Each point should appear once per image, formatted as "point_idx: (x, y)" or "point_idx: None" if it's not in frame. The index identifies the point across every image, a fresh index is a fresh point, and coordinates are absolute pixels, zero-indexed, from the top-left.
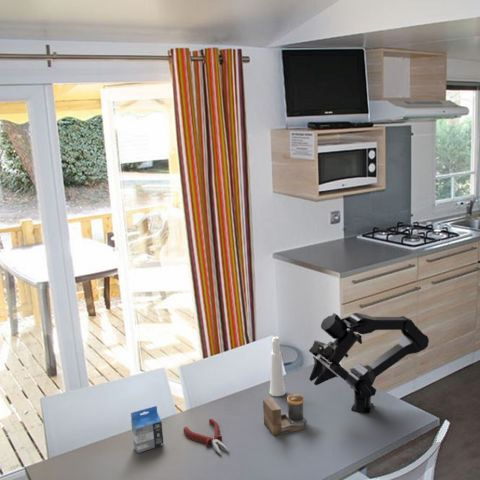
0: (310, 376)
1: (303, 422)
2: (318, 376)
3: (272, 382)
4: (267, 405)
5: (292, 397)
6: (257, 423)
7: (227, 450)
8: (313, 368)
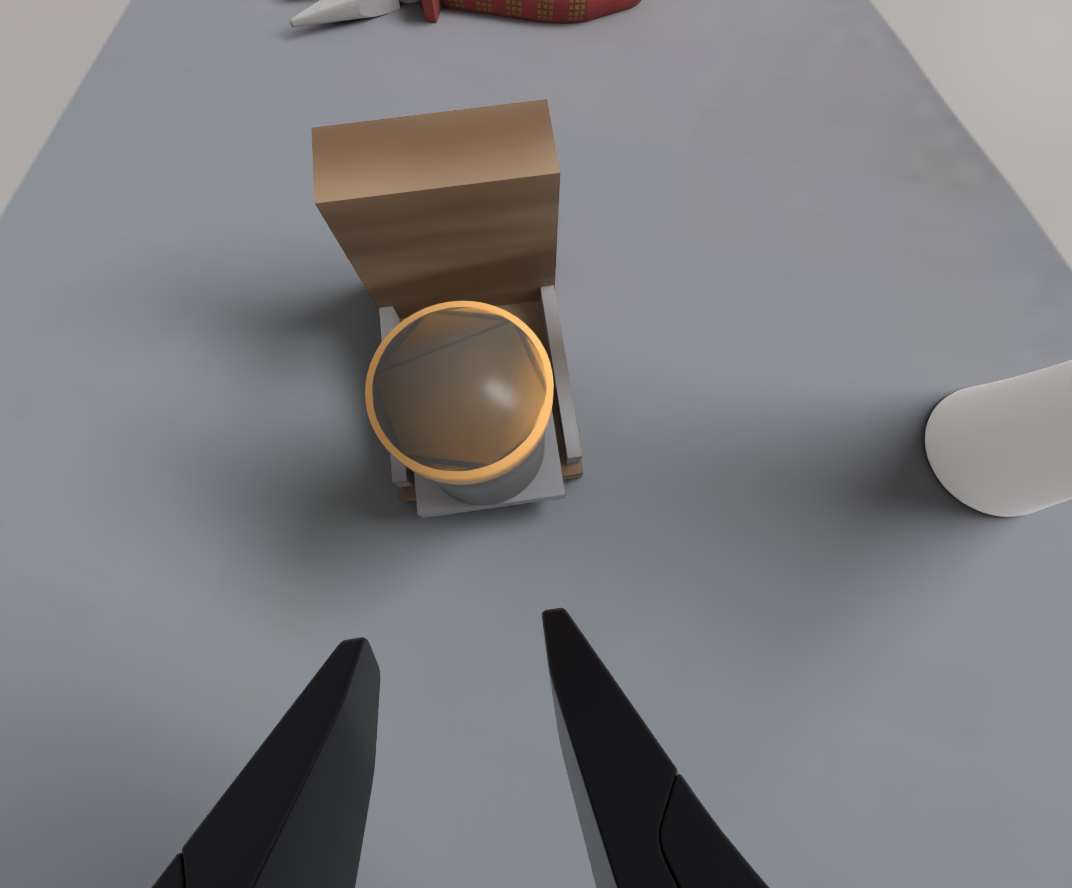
0: (574, 643)
1: (392, 480)
2: (273, 798)
3: (1056, 365)
4: (433, 118)
5: (483, 360)
6: (565, 222)
7: (305, 14)
8: (690, 815)
